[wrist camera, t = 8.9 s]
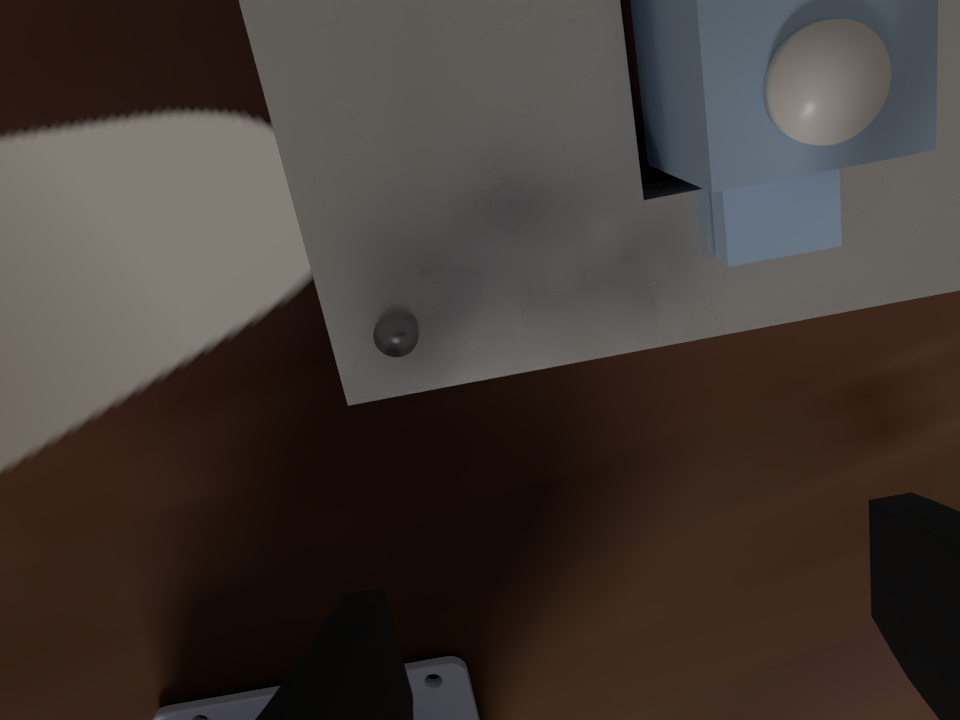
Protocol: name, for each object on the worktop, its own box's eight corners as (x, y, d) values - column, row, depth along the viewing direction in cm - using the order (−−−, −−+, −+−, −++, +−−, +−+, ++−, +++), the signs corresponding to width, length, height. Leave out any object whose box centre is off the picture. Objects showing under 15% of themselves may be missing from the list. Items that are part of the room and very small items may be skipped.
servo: (656, 246, 19) (728, 304, 14) (604, -229, 16) (674, -374, 11) (817, 215, 19) (947, 263, 14) (798, -270, 16) (960, -435, 11)
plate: (357, 375, 20) (346, 408, 18) (188, -273, 15) (147, -328, 13) (1141, 226, 19) (1223, 243, 17) (1212, -499, 15) (1335, -594, 13)
